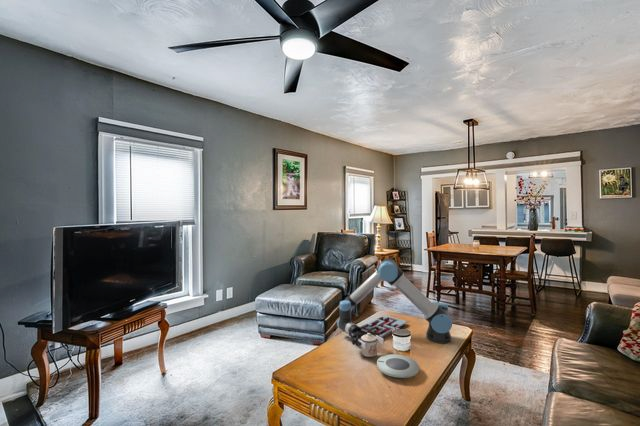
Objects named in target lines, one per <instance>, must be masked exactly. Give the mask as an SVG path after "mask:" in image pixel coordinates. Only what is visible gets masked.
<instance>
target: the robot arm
mask: <svg viewBox="0 0 640 426" xmlns="http://www.w3.org/2000/svg"><path fill="white" fill-rule="evenodd" d="M383 281H384V282H386V283H387V284H389V285H390V286H391V287H395V288H396V289H397V290H399V292H400V293H401V294H402V295H404V296H405V298H406V299H408V301H410V302H411V304H413V306H414V307H416V308H417V309H418V310H419V311H420V312H421V313H422V314H423V318H424V320H425V321H426V322H427V323H428V327H427V330H426V333H425V338H426V339H427V340H428V341H430V342H433V343H437V344H448V343H450V342H451V341H452V336H451V332H450V331H451V329H452V327H453V321H452V318H451V316H450V313H449V306H448V304H447V303H445V302H439V301H431V300H430V299H429V298H428V297H427V296H425V294H424V293H422V292H421V290H419V289H418V288H417V287H416V286H415V284H413V283H412V282H411V281H410V280H409V279H408V277H406V276H405V272H404V271H403V270H402V269H401V268H400V267H399V266H398V263H397V261H396V260H394V259H392V258H385V259H383V260H382V261H381V262H380V264H379V265H378V266H377V267H376V268H375V271H374V272H373V273H372V274H371V275H370V276H369V277H368V278H367V279H366V280H365V281H364V282H363V283H362V284H360V285H359V286H358V288H356V289H355V290H354V291H353V292H352V293H351V294H350V295H349V296H348V297H346V298H345V299H344V300H341V301H339V307H338V308H339V318H338V319H337V321H336V326H337V328H338V329H340V331H343V332H344V333H345V334H348V339H350V341H351V343H352V345H355V346H360V347H363V348H364V349H366V344H365V343H364V342H362V341H361V337H362V336H363V335H366V334H367V333H370V334H371V335H374V336H375V337H376V338H377V340H378V342H379V343H380V344H382V345H384V344H385V341H384V339H385V338H381V337H380V334H379V333H376V332H373V331H369V330H366V331H362V330H361V328H360V326H359V325H357V324H356V323H354V322H352V311H353V309H354V308H355V307H356V306H357V305H358V304H359V303H360V302H361V301H362V300H363V299H364V298H366V296H368V295H369V294H370V293H371V292H372V291H374V289H375V288H377V287H378V285H380V284H381V283H382V282H383Z"/></svg>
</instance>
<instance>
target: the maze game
mask: <svg viewBox="0 0 640 426" xmlns="http://www.w3.org/2000/svg"><path fill="white" fill-rule="evenodd" d="M407 323H408V320H404V319H400V318H396V317H393V316H389V315H386V314H384V315H382V316H378V317H377V318H374V319H373V320H370V321H369V322H366V323H364V324H362V325H360V326H359V327H360V328H361V330H362V331H366V330H369V331H373V332H376V333H379V334H380V337H381V338H383V339H385V337H387V336H389V335H391V334H392V333H393V332H392V330H393V329H396V328H400V329H401V327H402V326H404V325H406V324H407ZM391 332H392V333H391Z"/></svg>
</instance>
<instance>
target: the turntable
mask: <svg viewBox="0 0 640 426" xmlns="http://www.w3.org/2000/svg"><path fill="white" fill-rule="evenodd" d="M419 366H420V365H419V364H418V362H417V361H416V360H415V359H413V358H412V357H409V356H406V355H404V354H403V355H402V354H395V353H394V354H393V353H392V354H384V355H382V356H380V357H379V358H378V359H377V361H376V368H377V369H378V370H379V371H380V372H381V373H382V374H384V375H386V376H388V377H389V376H392V377H396V378H406V379H408V377H409V378H412V377H415V376H416V375H418V373H419V372H420V367H419ZM392 377H391V378H392Z"/></svg>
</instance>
